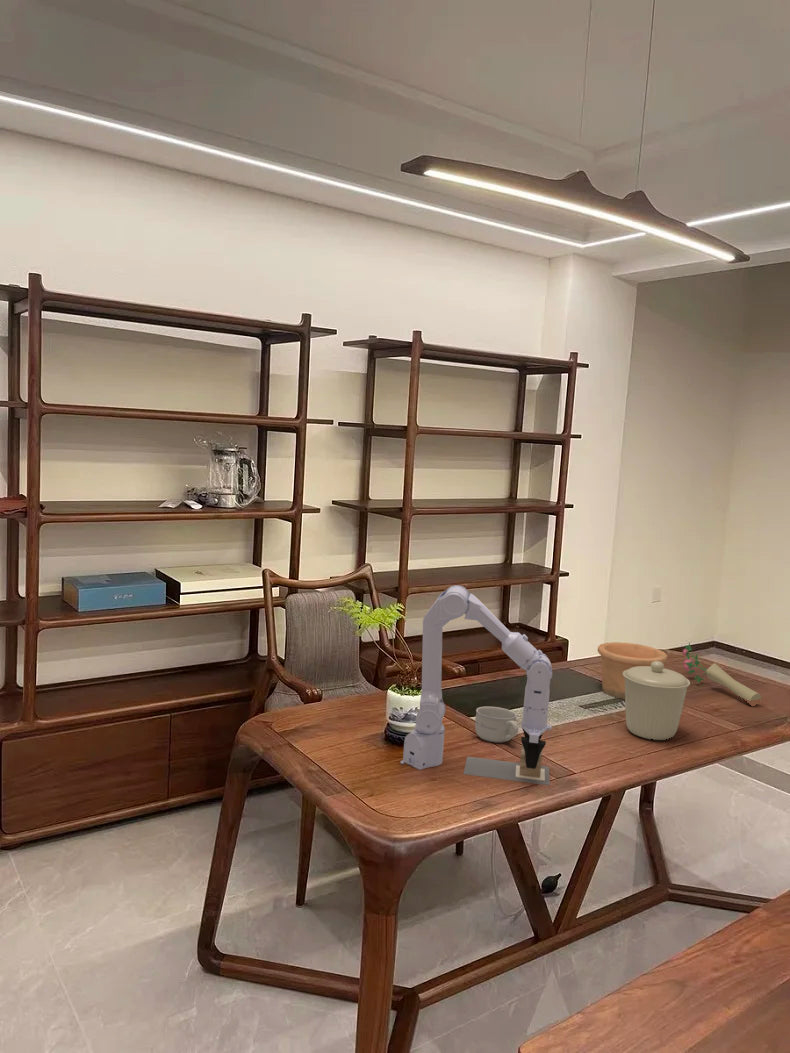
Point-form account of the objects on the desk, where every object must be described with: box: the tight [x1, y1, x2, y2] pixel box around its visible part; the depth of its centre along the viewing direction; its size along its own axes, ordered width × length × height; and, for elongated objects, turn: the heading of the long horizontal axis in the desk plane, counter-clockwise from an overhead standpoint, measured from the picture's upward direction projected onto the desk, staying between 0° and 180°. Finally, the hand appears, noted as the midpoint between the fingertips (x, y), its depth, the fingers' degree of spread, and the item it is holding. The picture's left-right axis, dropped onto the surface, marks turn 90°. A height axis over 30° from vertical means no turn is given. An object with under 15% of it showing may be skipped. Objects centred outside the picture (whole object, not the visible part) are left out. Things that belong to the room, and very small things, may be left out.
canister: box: [623, 661, 691, 741], centre depth 227 cm, size 18×18×21 cm
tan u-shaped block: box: [519, 743, 543, 778], centre depth 192 cm, size 5×5×6 cm
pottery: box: [597, 641, 668, 700], centre depth 265 cm, size 22×22×14 cm
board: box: [463, 755, 551, 786], centre depth 193 cm, size 20×11×1 cm, turn 80°
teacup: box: [474, 706, 519, 744], centre depth 213 cm, size 14×11×8 cm
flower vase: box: [681, 642, 762, 701], centre depth 275 cm, size 12×12×35 cm
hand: (531, 761), depth 192 cm, fingers open, 7 cm apart
